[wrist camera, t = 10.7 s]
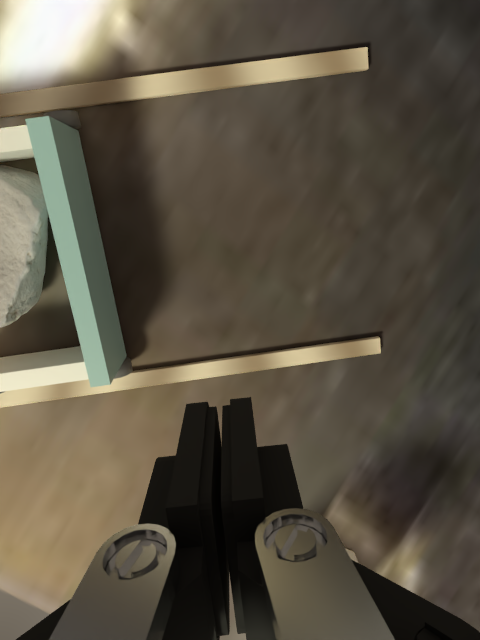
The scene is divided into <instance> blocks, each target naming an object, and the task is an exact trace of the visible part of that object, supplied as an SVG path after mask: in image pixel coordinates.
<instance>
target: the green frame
mask: <svg viewBox="0 0 480 640" xmlns="http://www.w3.org/2000/svg"><path fill="white" fill-rule="evenodd" d="M25 120H26V124H27V125H22V126H14V127H6V128H0V162H6V161H14V160H21V159H29V158H35V161H36V165H37V169H38V173H39V177H40V182H41V186H42V190H43V194H44V198H45V202H46V206H47V210H48V214H49V218H50V223H51V227H52V231H53V235H54V239H55V243H56V247H57V251H58V255H59V259H60V264H61V268H62V272H63V276H64V280H65V284H66V288H67V292H68V296H69V300H70V305H71V309H72V313H73V317H74V321H75V325H76V329H77V333H78V337H79V341H80V346H78V347H71V348H64V349H57V350H49V351H42V352H35V353H28V354H21V355H14V356H7V357H0V394H1V393H3V392H5V391H11V390H18V389H25V388H32V387H39V386H46V385H53V384H60V383H67V382H74V381H81V380H88V379H89V382H90V387H97V386H104V385H111V383H112V381H113V379H116V378H121V377H124V376H126V375H128V374H130V373H131V372H132V371H133V368H132V363H131V359H130V358H128V357H126V356H127V355H126V351H125V346H124V341H123V337H122V332H121V327H120V323H119V318H118V313H117V309H116V304H115V299H114V295H113V290H112V285H111V281H110V276H109V271H108V267H107V262H106V257H105V253H104V248H103V243H102V239H101V234H100V229H99V225H98V220H97V215H96V211H95V206H94V201H93V197H92V192H91V187H90V183H89V178H88V173H87V169H86V164H85V159H84V155H83V150H82V145H81V141H80V136H79V132H78V130H77V129H80V128H81V123H80V118H79V114H78V112H77V111H73V110H57V111H50V112H46V113H44V114H43V117H36V118H29V119H25Z"/></svg>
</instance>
